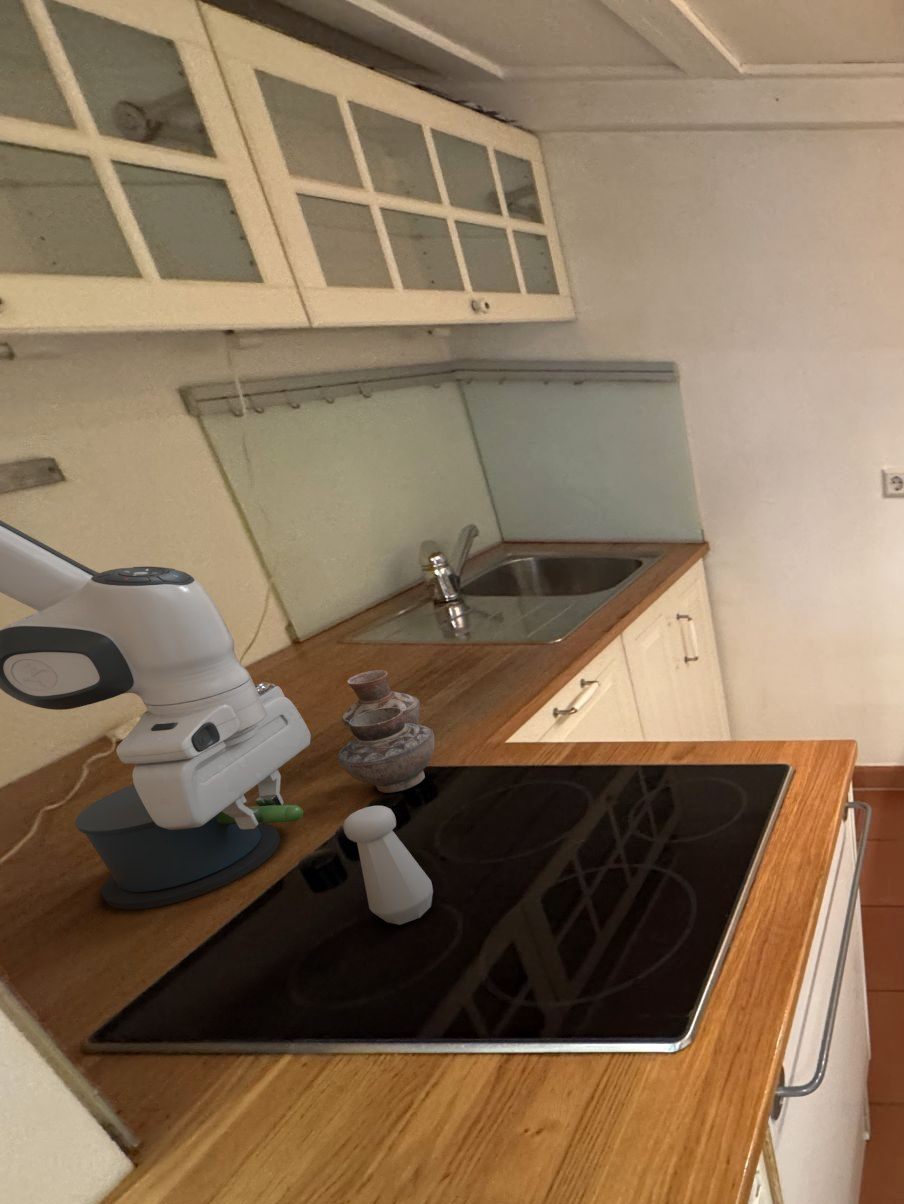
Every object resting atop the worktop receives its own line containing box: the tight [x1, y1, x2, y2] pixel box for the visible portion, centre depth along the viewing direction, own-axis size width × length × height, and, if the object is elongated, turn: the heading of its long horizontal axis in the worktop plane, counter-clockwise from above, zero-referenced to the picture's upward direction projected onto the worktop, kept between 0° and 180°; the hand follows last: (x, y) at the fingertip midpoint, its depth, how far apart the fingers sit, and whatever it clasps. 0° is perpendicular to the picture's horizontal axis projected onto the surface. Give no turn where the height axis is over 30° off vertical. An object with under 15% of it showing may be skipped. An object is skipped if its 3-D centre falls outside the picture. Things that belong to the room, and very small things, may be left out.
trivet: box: [100, 823, 281, 911], centre depth 93 cm, size 16×16×1 cm
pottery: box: [336, 669, 436, 794], centre depth 112 cm, size 11×25×12 cm, turn 38°
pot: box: [74, 784, 304, 892], centre depth 91 cm, size 22×14×10 cm, turn 91°
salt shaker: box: [342, 805, 434, 926], centre depth 82 cm, size 6×6×13 cm
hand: (263, 817), depth 91 cm, fingers closed on pot, 2 cm apart
